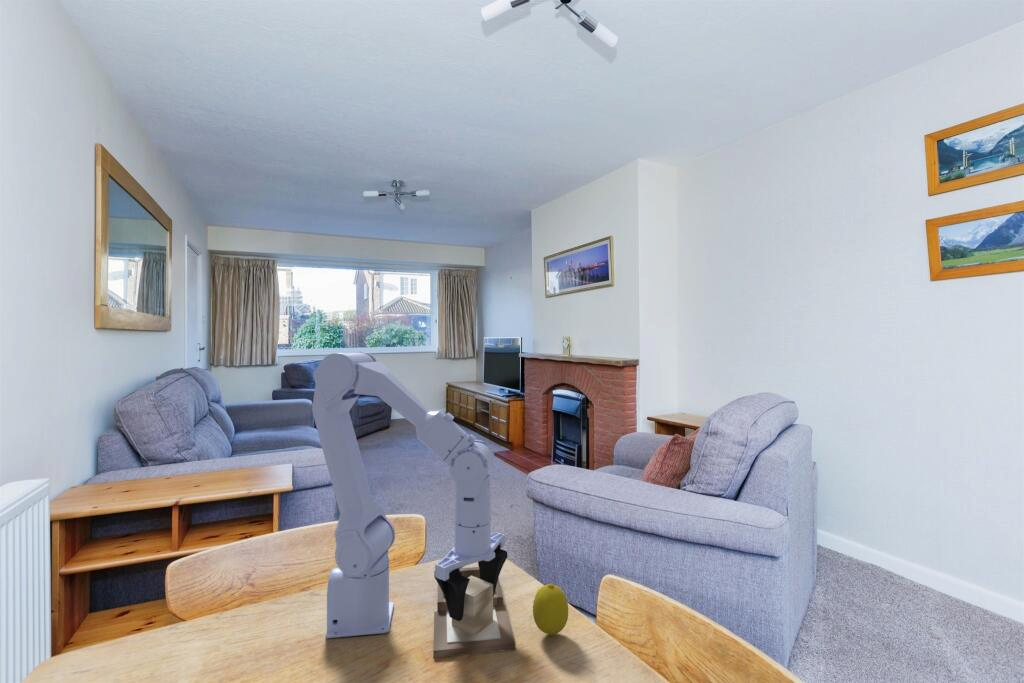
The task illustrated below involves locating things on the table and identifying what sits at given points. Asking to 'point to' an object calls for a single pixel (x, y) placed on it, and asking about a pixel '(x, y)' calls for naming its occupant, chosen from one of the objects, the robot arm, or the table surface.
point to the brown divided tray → (460, 642)
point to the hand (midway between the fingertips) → (472, 606)
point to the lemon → (550, 609)
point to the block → (476, 607)
